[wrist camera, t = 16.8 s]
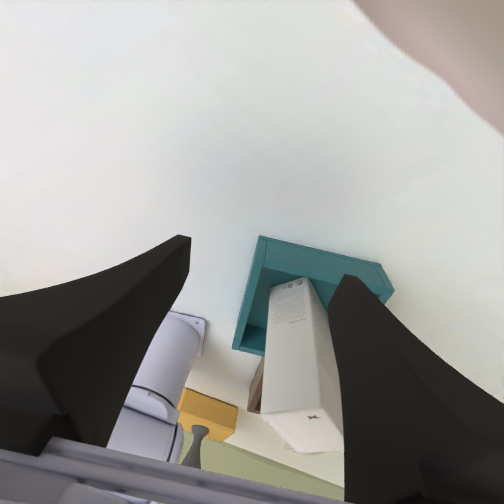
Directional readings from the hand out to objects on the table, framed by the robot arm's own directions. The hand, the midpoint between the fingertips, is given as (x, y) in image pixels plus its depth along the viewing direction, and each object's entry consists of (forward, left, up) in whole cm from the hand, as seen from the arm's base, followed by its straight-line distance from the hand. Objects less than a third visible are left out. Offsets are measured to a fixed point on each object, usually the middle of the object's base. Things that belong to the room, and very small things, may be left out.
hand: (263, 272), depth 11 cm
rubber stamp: (-2, -39, -11) cm, 40 cm away
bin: (+6, -10, -10) cm, 16 cm away
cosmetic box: (+6, -10, -10) cm, 15 cm away
